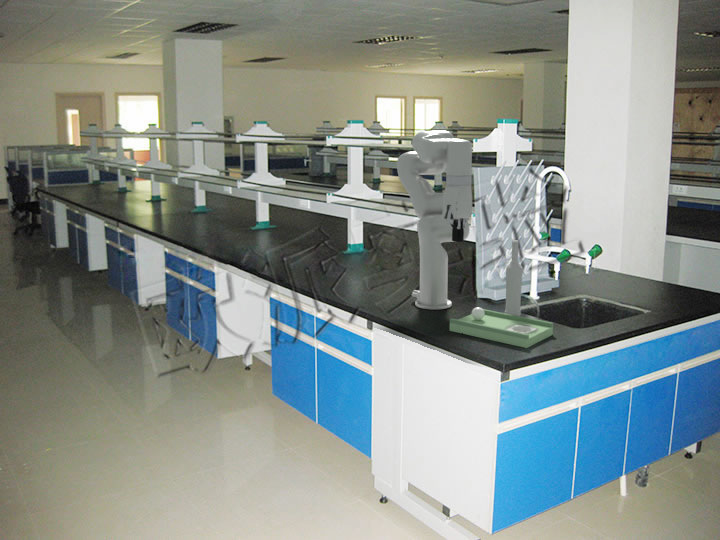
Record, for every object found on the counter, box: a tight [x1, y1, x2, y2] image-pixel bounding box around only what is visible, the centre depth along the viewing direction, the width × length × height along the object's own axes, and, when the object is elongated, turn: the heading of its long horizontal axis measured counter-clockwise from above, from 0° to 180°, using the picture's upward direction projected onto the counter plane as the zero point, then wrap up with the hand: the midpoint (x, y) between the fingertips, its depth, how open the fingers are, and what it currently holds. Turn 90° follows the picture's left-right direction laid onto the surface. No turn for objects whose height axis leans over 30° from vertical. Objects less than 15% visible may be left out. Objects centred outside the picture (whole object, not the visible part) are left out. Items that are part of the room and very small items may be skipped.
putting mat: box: [449, 308, 554, 349], centre depth 208 cm, size 26×16×4 cm, turn 49°
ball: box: [470, 306, 485, 320], centre depth 213 cm, size 4×4×4 cm
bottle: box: [504, 239, 524, 316], centre depth 223 cm, size 5×5×25 cm
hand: (457, 241), depth 213 cm, fingers closed
